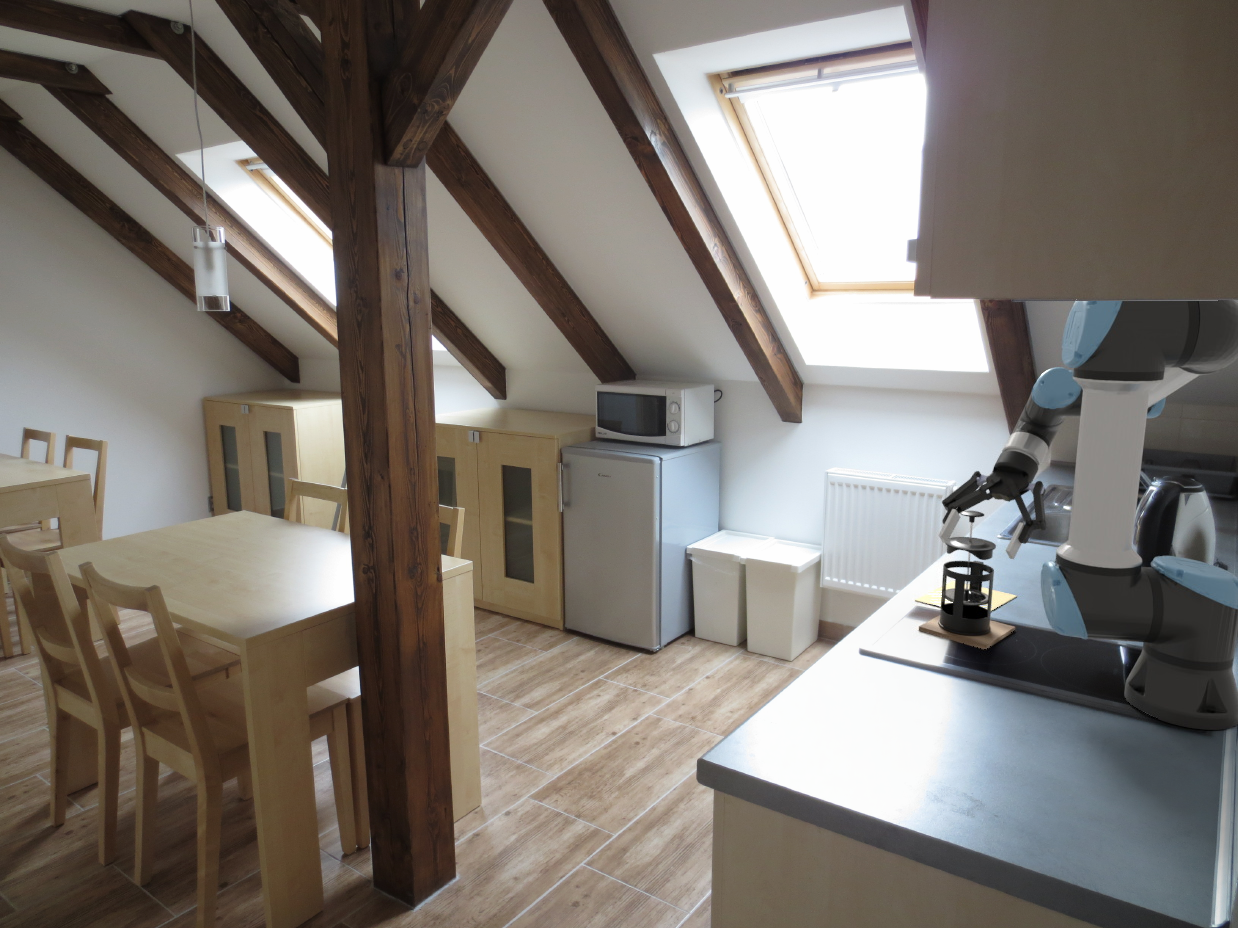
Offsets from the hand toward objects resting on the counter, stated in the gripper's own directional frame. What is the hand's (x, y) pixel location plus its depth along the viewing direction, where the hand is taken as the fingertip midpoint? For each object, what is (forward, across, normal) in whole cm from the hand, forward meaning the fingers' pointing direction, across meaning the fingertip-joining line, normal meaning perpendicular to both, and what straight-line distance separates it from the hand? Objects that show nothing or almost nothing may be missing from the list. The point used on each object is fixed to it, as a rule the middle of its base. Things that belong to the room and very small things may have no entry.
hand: (974, 546), depth 159 cm
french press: (+12, 0, -10) cm, 16 cm away
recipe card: (+1, +9, -22) cm, 24 cm away
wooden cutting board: (+13, 0, -10) cm, 17 cm away
